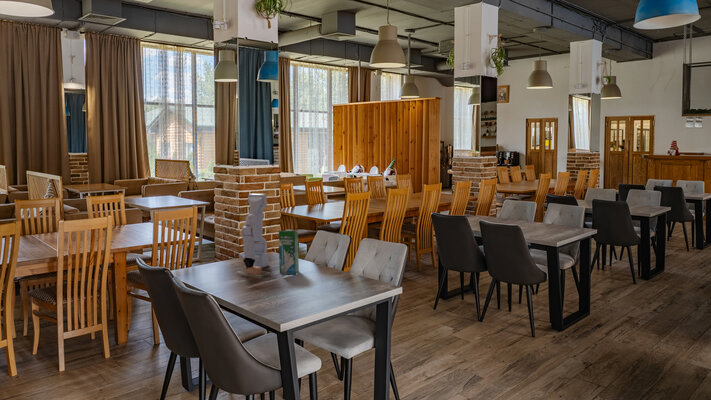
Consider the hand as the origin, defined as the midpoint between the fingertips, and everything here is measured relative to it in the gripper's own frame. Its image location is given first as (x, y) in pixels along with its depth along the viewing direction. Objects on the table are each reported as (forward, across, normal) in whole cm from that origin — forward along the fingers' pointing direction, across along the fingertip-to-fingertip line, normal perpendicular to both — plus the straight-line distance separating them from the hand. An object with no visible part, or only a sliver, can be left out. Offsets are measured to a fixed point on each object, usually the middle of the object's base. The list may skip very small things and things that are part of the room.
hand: (249, 271), depth 298 cm
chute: (+2, +3, 0) cm, 4 cm away
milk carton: (+3, +14, +17) cm, 22 cm away
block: (+1, +4, 0) cm, 4 cm away
